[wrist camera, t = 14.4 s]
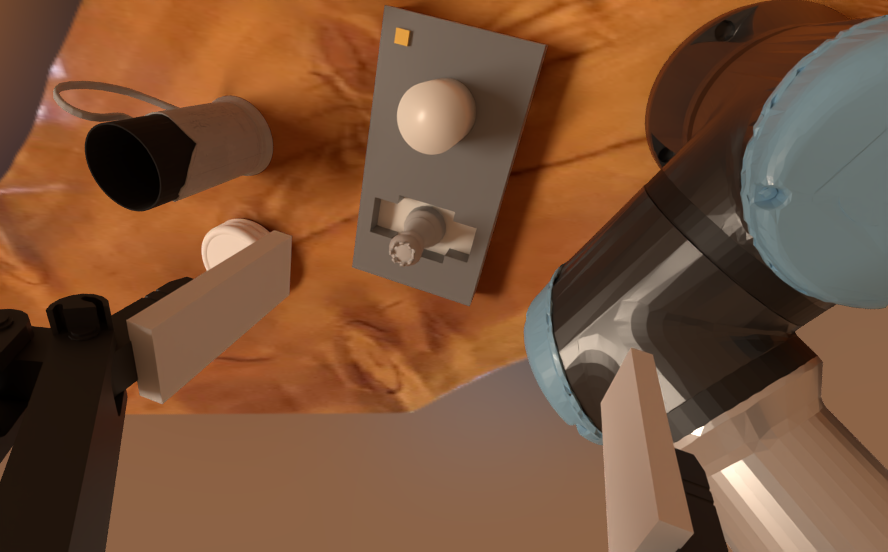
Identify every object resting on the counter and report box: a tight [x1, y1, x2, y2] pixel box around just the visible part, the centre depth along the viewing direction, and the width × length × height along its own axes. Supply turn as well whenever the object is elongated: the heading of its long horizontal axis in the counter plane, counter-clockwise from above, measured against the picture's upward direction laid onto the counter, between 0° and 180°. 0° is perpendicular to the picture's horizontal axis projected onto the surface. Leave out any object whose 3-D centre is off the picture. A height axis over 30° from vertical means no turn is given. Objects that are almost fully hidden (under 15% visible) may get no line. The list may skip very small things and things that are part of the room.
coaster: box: [202, 219, 270, 271], centre depth 57 cm, size 10×10×4 cm
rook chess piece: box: [389, 206, 446, 267], centre depth 45 cm, size 4×4×8 cm
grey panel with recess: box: [352, 5, 548, 306], centre depth 43 cm, size 14×26×8 cm, turn 168°
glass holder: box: [53, 81, 273, 211], centre depth 44 cm, size 9×14×15 cm, turn 51°
